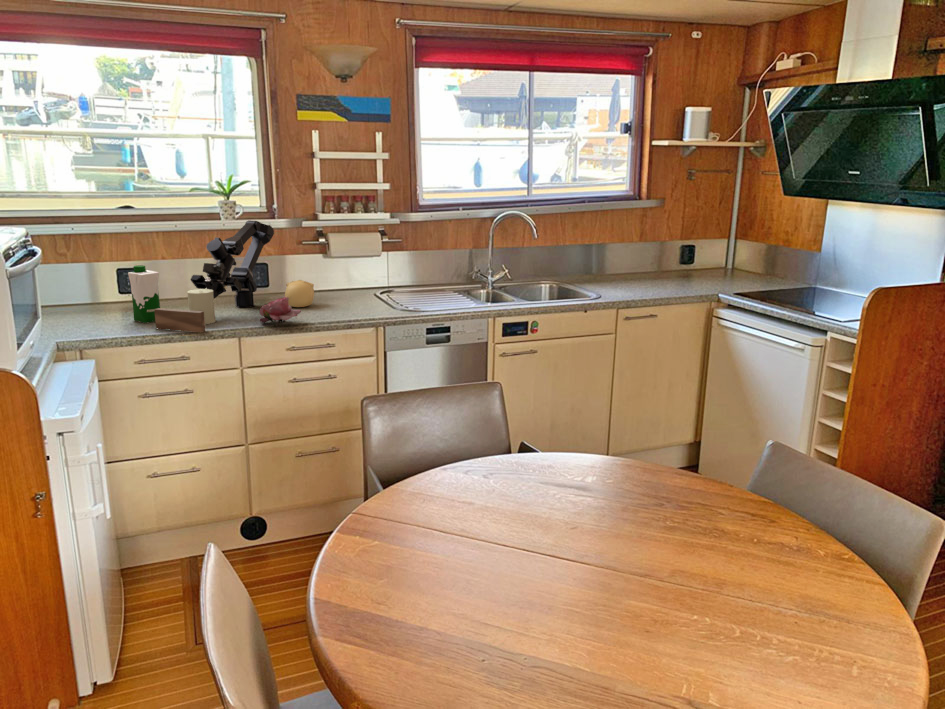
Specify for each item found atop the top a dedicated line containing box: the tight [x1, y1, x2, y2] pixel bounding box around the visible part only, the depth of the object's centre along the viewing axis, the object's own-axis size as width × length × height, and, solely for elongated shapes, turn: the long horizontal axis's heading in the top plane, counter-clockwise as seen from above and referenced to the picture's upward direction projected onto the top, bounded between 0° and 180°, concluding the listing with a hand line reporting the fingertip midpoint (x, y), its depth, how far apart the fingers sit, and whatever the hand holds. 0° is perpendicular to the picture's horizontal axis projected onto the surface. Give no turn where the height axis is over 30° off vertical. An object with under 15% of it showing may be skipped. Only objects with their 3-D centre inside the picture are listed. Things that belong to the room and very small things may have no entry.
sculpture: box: [284, 279, 315, 308], centre depth 312 cm, size 12×12×11 cm
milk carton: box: [127, 264, 161, 324], centre depth 282 cm, size 9×9×20 cm
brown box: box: [154, 307, 206, 333], centre depth 270 cm, size 3×18×7 cm, turn 76°
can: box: [186, 288, 217, 325], centre depth 282 cm, size 9×9×12 cm
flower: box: [259, 296, 302, 327], centre depth 280 cm, size 15×15×10 cm
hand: (208, 301), depth 286 cm, fingers closed, pressing on can
